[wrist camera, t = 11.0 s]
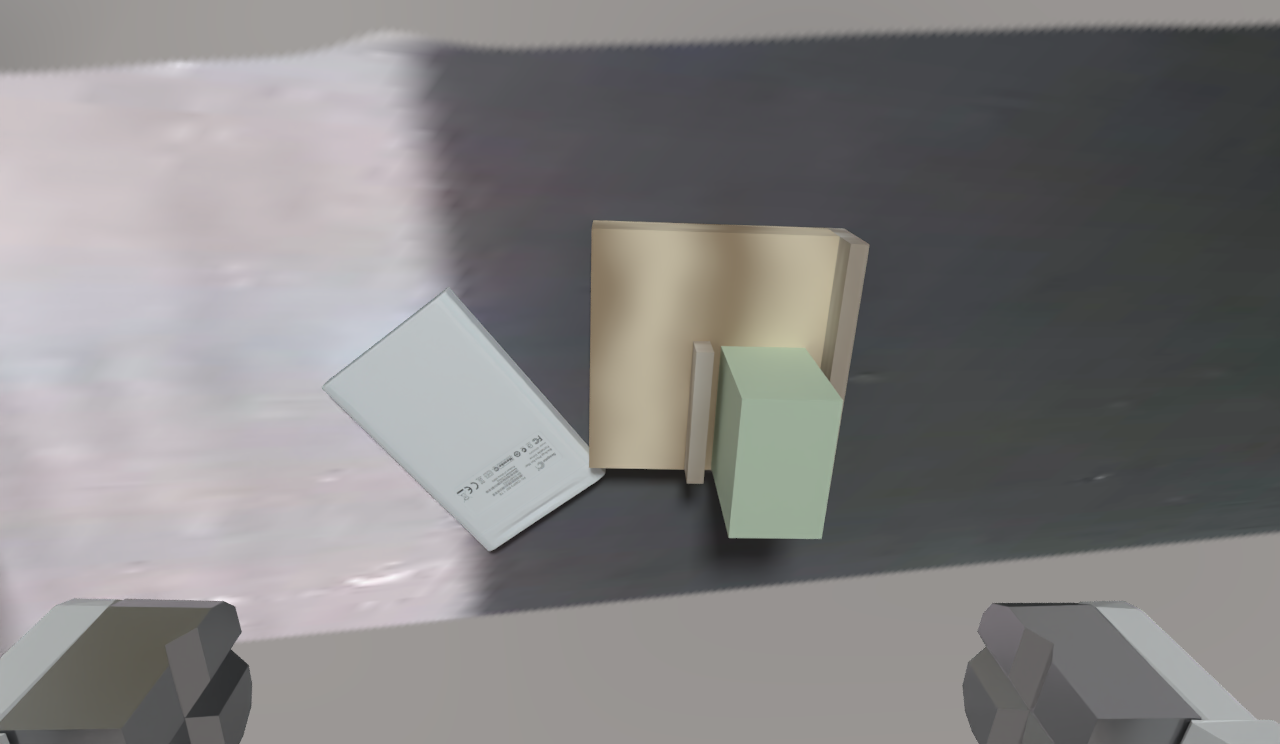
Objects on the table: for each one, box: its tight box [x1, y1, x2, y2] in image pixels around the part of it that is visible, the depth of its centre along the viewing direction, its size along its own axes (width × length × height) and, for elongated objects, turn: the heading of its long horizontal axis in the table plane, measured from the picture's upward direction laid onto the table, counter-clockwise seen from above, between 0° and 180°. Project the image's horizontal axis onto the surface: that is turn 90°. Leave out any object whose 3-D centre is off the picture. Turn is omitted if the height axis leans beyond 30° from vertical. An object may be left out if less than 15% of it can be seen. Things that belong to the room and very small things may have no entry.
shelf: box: [589, 220, 869, 489], centre depth 33 cm, size 12×12×4 cm
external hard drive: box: [322, 287, 606, 551], centre depth 36 cm, size 2×8×12 cm
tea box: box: [711, 346, 843, 539], centre depth 31 cm, size 4×6×6 cm, turn 178°
